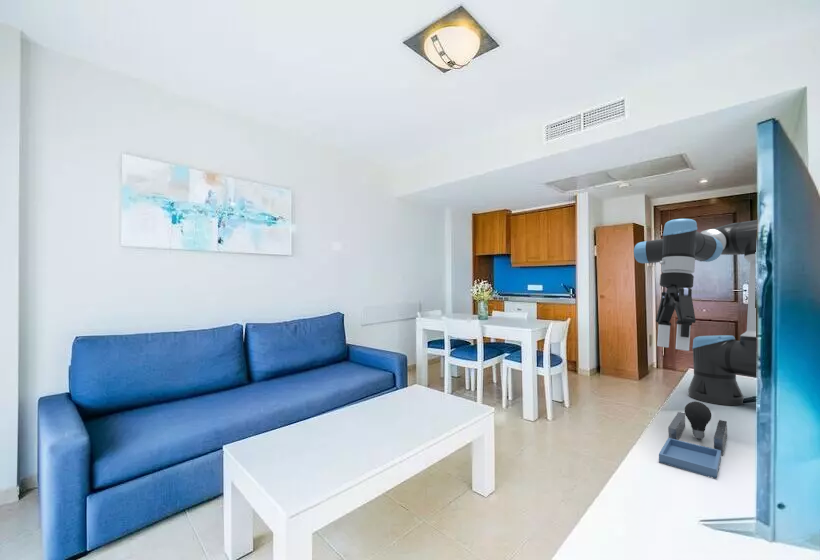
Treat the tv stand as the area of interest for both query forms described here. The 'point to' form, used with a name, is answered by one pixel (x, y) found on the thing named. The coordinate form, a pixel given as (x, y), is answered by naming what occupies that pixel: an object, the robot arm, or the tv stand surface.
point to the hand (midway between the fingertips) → (671, 348)
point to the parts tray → (691, 457)
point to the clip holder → (679, 426)
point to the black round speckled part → (698, 418)
